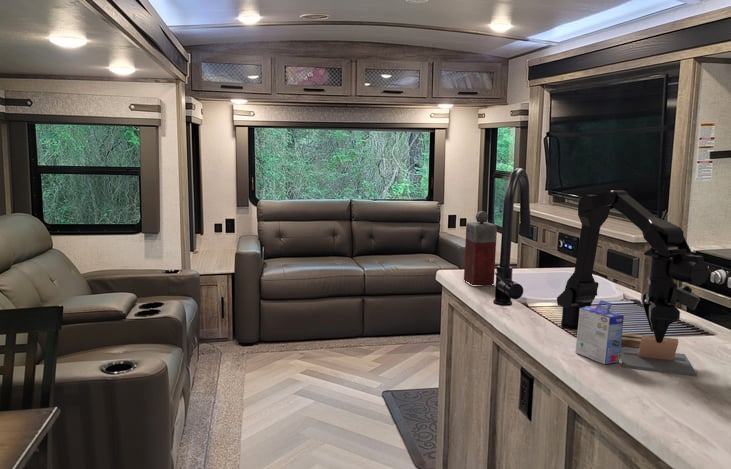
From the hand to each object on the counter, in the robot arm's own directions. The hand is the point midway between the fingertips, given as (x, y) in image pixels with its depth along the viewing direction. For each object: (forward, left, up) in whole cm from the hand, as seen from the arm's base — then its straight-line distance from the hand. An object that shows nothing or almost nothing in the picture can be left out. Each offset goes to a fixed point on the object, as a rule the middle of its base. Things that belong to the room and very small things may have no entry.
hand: (656, 337), depth 150 cm
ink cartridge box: (-14, -3, -6) cm, 15 cm away
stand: (-5, +12, -6) cm, 14 cm away
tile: (0, 0, -5) cm, 5 cm away
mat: (0, -1, -6) cm, 6 cm away
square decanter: (-53, +69, -6) cm, 87 cm away
